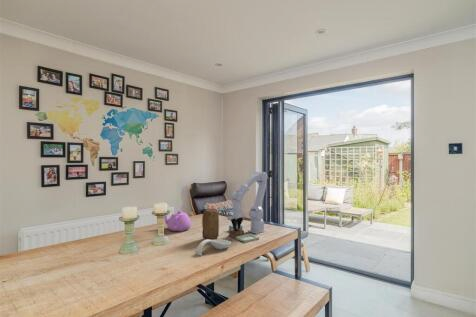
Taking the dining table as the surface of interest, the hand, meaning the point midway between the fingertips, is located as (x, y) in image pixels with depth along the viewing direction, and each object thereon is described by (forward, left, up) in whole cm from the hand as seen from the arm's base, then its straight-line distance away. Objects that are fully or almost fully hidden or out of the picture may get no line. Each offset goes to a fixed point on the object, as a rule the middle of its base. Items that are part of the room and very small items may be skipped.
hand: (236, 229), depth 184 cm
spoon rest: (+27, +15, -5) cm, 31 cm away
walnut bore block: (0, 0, -5) cm, 5 cm away
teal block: (-7, -10, -5) cm, 13 cm away
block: (+20, -2, -5) cm, 21 cm away
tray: (-2, +9, -5) cm, 11 cm away
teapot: (+28, -38, -5) cm, 47 cm away
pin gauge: (0, 0, -3) cm, 3 cm away
